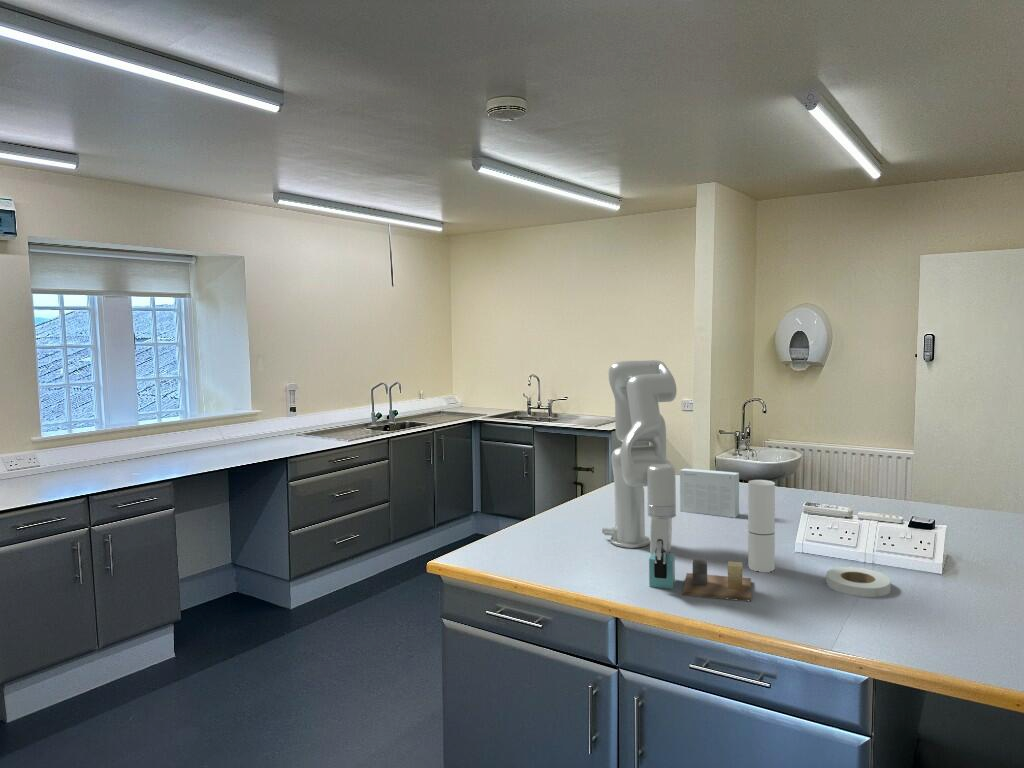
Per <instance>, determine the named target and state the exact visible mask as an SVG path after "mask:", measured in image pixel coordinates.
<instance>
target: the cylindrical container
mask: <svg viewBox="0 0 1024 768" xmlns="http://www.w3.org/2000/svg"><path fill="white" fill-rule="evenodd" d="M747 484H748V485H747V486H748V487H747V489H748V493H747V494H748V498H747V499H748V502H747V503H748V504H747V506H748V508H747V509H748V510H747V511H748V512H747V514H748V517H747V518H748V520H747V522H748V523H747V524H748V525H747V529H748V531H747V532H748V534H747V537H748V539H747V540H748V541H747V545H748V546H747V547H748V548H747V549H748V550H747V555H748V557H747V558H748V559H747V561H748V562H747V568H748V567H749V568H750V569H751V571H753V570H754V571H753V572H756V571H759V572H758V573H770V572H769V571H772V572H774V571H775V570H774V569H775V564H776V563H775V561H776V559H775V555H776V554H775V550H776V548H775V547H776V543H775V541H776V540H775V539H776V534H775V533H776V530H775V529H776V527H775V526H776V518H775V517H776V513H775V512H776V483H775V482H774V481H772V480H767V479H753V480H749V481H748V483H747ZM749 568H748V569H749ZM750 569H749V570H750ZM773 570H774V571H773Z"/></svg>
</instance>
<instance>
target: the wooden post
mask: <svg viewBox="0 0 1024 768" xmlns="http://www.w3.org/2000/svg"><path fill="white" fill-rule="evenodd" d="M727 576H728V588H732V589H742V578H743V562H742V561H741V562H739V561H727Z"/></svg>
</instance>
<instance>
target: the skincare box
mask: <svg viewBox="0 0 1024 768" xmlns="http://www.w3.org/2000/svg"><path fill="white" fill-rule="evenodd" d="M679 512H683V513H692V514H699V515H700V514H701V515H709V516H717V517H725V518H735V519H736V518H737V517H738V516H739V515H740V472H734V471H724V470H713V469H711V470H709V469H697V468H682V469H679Z"/></svg>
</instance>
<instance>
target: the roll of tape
mask: <svg viewBox="0 0 1024 768" xmlns="http://www.w3.org/2000/svg"><path fill="white" fill-rule="evenodd" d="M825 581H826V583H827V584H826V583H825V584H826V585H827V586H828V588H830V589H832V590H833V589H834V591H835V592H838V593H842V594H845V595H849V596H855V597H862V598H877V597H884V596H887V595H889V594H890V593H891V589H892V581H891V579H890V578H889V576H887V575H885V573H882V572H878V571H877V570H874V569H869V568H863V567H854V566H839V567H832V568H830V569H829V570H827V571H826V574H825Z"/></svg>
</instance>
